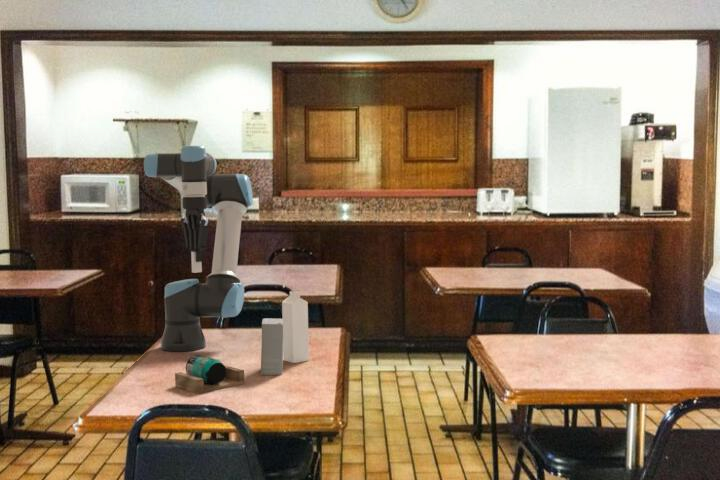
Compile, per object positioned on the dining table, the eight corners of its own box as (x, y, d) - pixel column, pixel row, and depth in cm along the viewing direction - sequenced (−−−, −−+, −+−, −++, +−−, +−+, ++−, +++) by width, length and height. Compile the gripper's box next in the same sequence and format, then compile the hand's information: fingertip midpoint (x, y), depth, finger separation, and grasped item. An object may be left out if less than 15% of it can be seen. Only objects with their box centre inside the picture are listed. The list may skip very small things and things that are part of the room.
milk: (293, 363, 274) (291, 294, 272) (283, 360, 278) (281, 292, 276) (309, 360, 277) (307, 292, 275) (299, 357, 282) (297, 290, 280)
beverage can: (209, 368, 256) (232, 374, 247) (191, 383, 252) (214, 390, 243) (198, 349, 253) (221, 355, 244) (180, 364, 249) (202, 371, 240)
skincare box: (261, 369, 266) (259, 318, 265) (284, 368, 267) (283, 317, 265) (260, 375, 258) (259, 322, 256) (284, 375, 258) (283, 322, 257)
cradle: (175, 386, 246) (175, 373, 246) (221, 376, 257) (220, 364, 257) (198, 393, 238) (197, 380, 238) (244, 383, 249) (244, 370, 249)
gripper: (172, 196, 270) (175, 271, 272) (196, 196, 261) (198, 275, 263) (193, 195, 275) (195, 269, 277) (216, 196, 266) (219, 272, 268)
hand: (196, 272), depth 270 cm, fingers closed
